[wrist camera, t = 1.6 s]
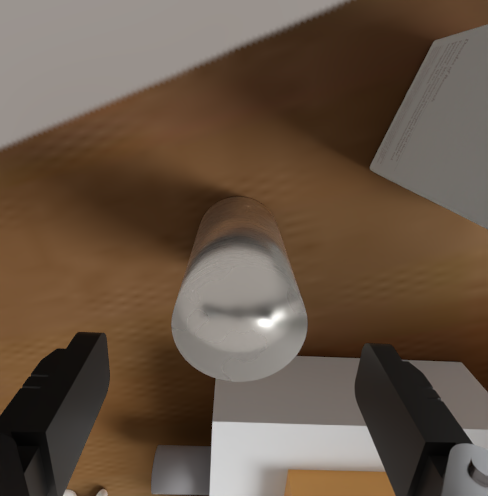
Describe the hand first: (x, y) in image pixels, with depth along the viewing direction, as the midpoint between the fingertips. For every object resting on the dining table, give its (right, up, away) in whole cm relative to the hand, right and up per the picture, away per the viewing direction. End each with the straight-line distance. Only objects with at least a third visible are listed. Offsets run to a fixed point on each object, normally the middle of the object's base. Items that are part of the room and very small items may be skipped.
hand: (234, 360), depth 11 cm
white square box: (+5, -12, +18) cm, 22 cm away
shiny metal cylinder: (0, +4, +11) cm, 12 cm away
